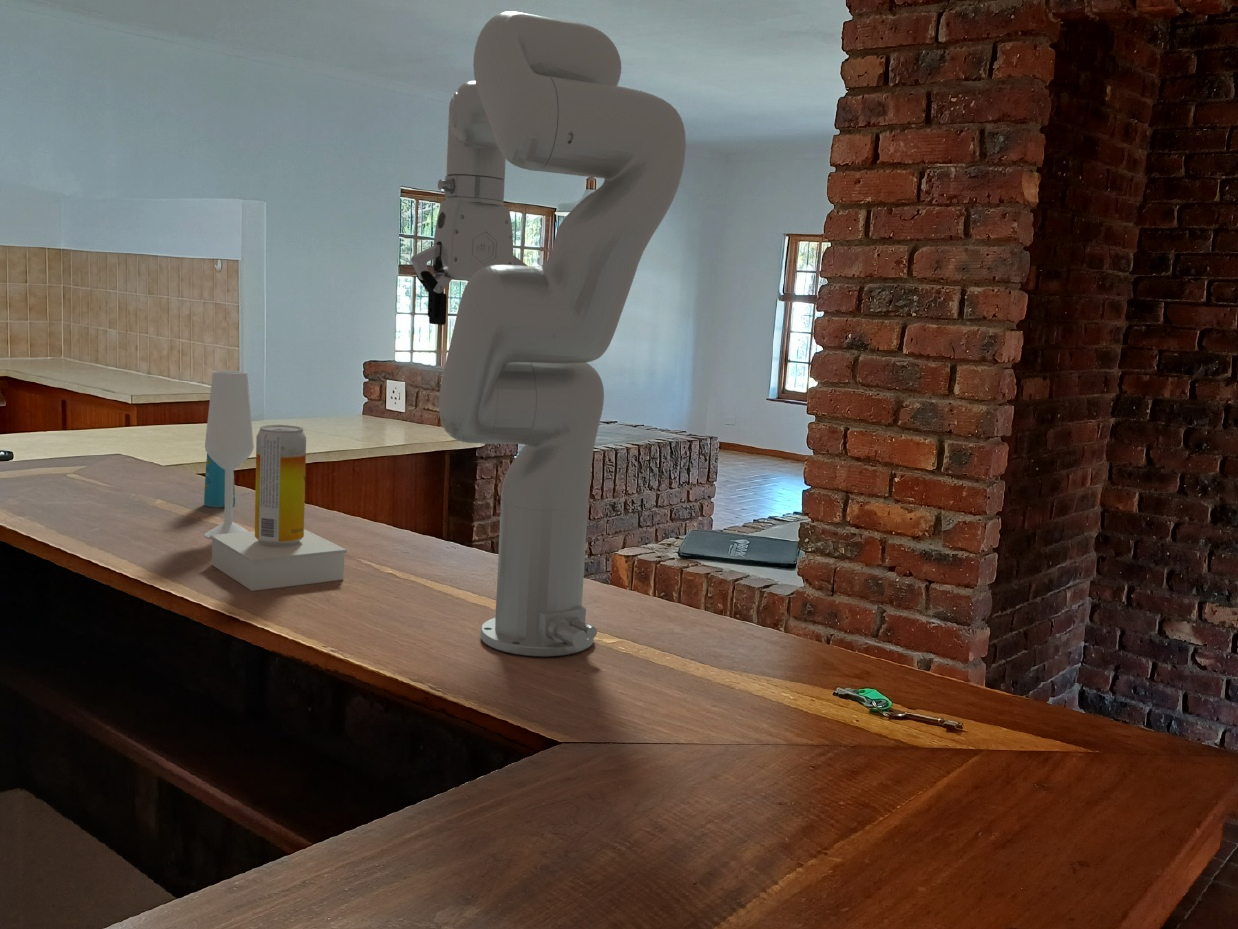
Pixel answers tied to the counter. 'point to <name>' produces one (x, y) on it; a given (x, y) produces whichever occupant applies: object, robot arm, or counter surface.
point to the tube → (215, 485)
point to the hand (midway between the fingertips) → (469, 325)
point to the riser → (277, 560)
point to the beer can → (280, 485)
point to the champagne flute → (229, 434)
